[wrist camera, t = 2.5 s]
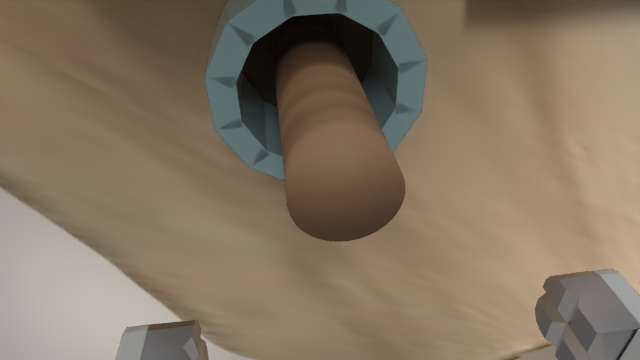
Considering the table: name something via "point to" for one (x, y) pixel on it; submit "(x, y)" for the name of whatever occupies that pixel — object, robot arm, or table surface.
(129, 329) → the robot arm
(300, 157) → the dowel
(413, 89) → the tube
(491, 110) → the table surface
